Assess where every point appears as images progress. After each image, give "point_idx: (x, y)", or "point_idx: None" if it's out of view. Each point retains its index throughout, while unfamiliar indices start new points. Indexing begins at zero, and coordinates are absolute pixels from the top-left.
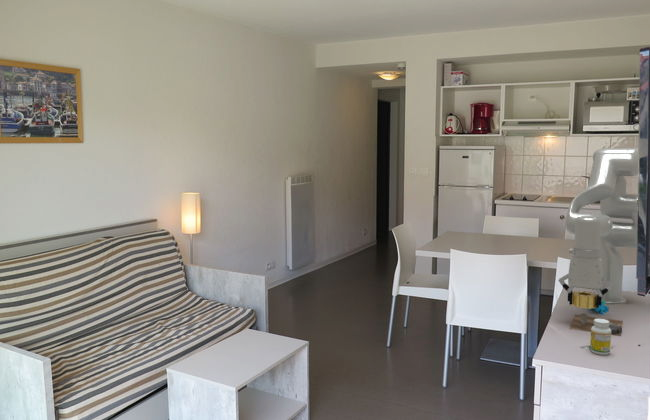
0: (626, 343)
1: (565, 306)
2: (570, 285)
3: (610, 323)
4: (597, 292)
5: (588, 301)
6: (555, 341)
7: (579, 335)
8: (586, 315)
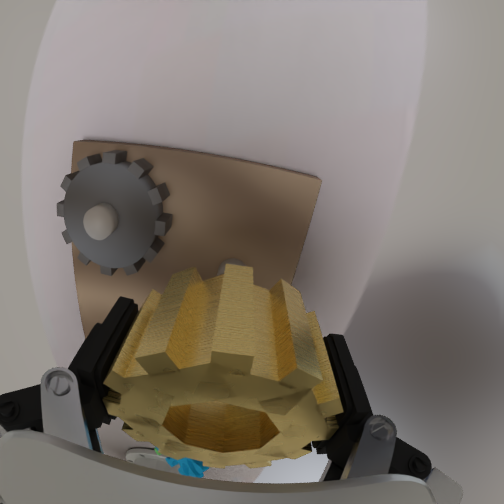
0: (71, 103)
1: None
2: (414, 478)
3: (91, 218)
4: (75, 412)
5: (185, 318)
6: (390, 34)
7: (268, 135)
8: None
